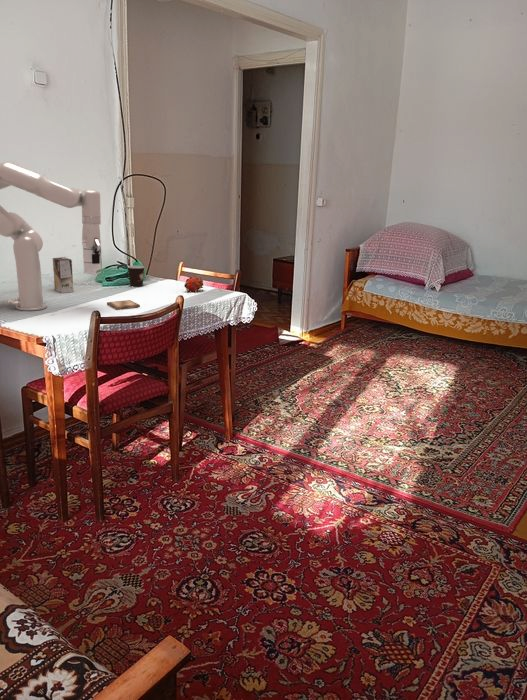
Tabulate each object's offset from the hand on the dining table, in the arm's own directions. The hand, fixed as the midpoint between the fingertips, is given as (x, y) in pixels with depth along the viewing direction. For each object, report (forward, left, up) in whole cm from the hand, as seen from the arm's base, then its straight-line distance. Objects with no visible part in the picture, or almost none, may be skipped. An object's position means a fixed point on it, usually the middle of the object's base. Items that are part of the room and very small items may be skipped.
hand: (92, 261), depth 246 cm
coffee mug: (+35, +39, -21) cm, 56 cm away
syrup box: (0, 0, -5) cm, 5 cm away
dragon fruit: (+57, +14, -21) cm, 63 cm away
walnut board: (+12, -2, -20) cm, 24 cm away
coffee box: (-1, +41, -21) cm, 46 cm away
